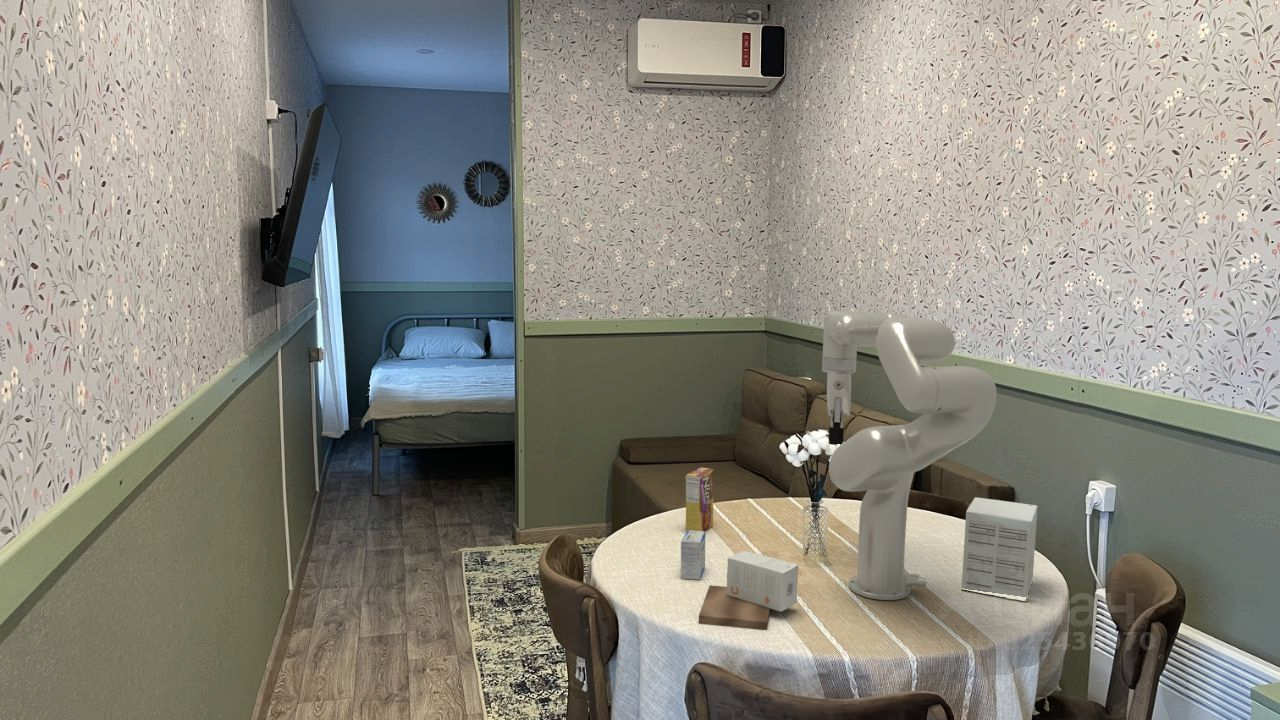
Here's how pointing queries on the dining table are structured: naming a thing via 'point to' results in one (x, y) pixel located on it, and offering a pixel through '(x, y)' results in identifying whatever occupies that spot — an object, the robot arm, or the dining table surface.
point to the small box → (762, 580)
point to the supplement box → (999, 547)
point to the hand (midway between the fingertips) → (835, 443)
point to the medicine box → (693, 555)
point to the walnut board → (732, 610)
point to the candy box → (699, 500)
